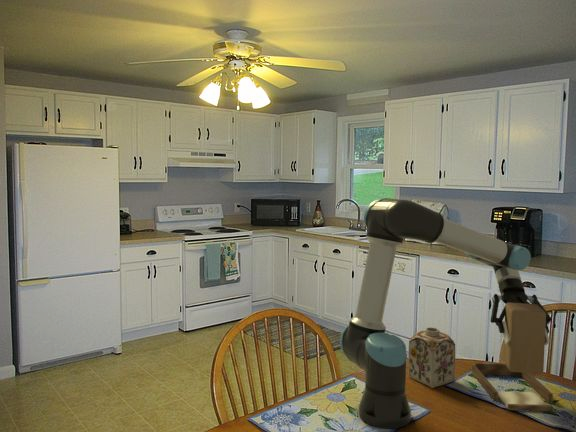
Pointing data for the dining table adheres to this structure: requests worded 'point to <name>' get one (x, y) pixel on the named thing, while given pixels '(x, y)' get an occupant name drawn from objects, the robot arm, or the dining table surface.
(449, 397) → the dining table surface
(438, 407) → the dining table surface
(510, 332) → the wooden block
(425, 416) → the dining table surface
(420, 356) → the decorative jar
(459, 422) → the dining table surface
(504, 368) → the bay
